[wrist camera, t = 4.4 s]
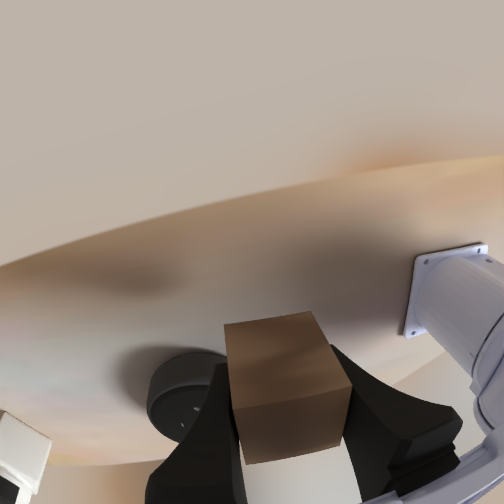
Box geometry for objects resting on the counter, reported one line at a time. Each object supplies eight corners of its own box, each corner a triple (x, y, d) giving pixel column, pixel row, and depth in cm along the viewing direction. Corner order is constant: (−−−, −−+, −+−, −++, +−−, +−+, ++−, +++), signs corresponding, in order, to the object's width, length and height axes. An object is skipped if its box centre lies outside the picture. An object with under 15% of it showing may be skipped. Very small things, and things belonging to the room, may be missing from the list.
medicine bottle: (5, 432, 24) (-21, 494, 13) (4, 409, 23) (-28, 481, 12) (48, 457, 26) (29, 523, 15) (53, 439, 25) (30, 516, 14)
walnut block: (310, 311, 14) (352, 385, 9) (309, 373, 15) (339, 445, 10) (223, 324, 13) (232, 409, 9) (234, 385, 15) (245, 464, 10)
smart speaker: (171, 422, 25) (169, 455, 21) (135, 355, 22) (126, 390, 18) (262, 408, 26) (269, 441, 22) (244, 337, 22) (251, 372, 19)
